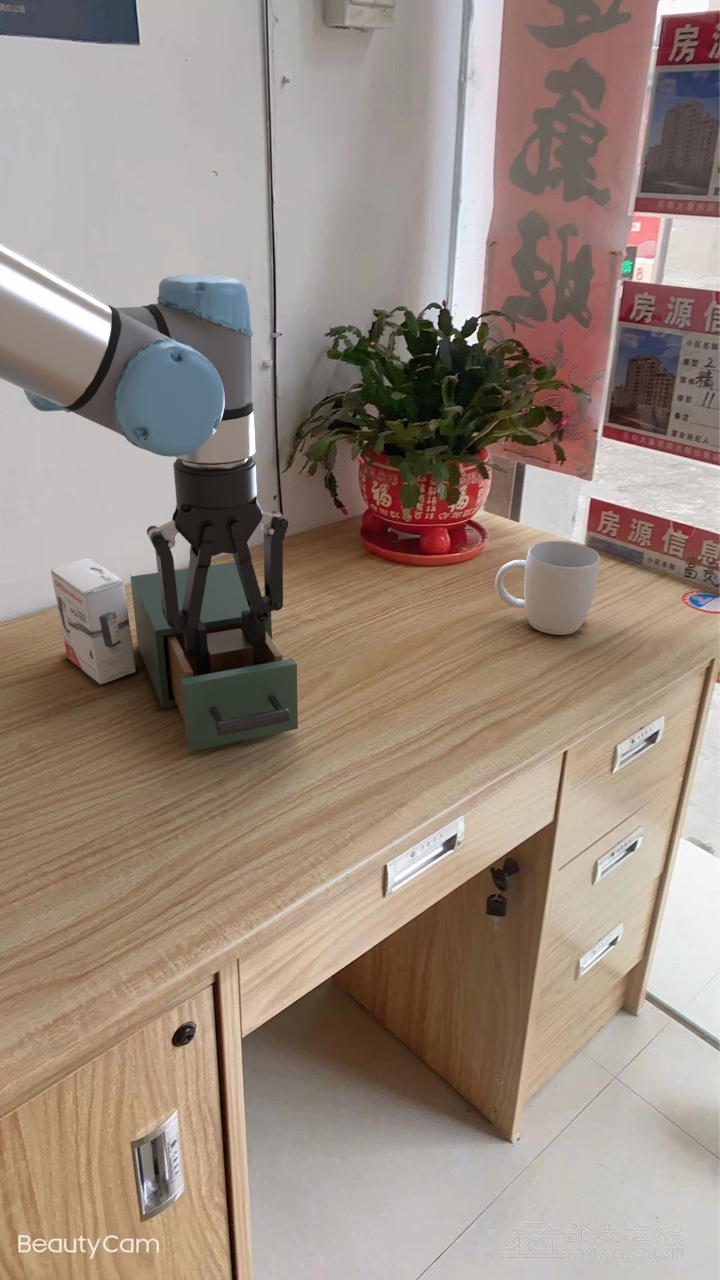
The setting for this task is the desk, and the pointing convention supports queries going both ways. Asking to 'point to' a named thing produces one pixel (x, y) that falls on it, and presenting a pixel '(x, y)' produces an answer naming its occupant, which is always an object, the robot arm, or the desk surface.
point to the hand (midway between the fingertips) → (227, 675)
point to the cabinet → (217, 609)
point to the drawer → (232, 695)
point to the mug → (554, 585)
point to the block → (228, 651)
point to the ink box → (94, 619)
